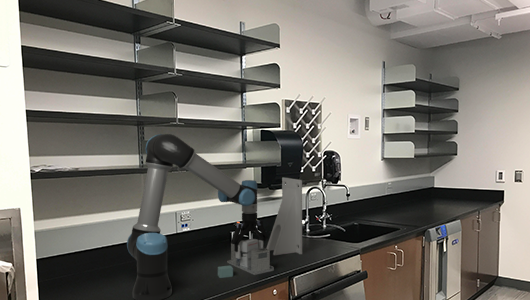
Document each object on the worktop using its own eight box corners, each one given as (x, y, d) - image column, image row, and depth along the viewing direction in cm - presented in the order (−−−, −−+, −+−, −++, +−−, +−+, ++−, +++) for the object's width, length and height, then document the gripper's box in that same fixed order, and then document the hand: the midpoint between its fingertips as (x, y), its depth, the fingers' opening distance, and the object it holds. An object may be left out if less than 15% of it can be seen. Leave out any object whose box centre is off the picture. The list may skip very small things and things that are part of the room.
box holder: (254, 275, 190) (254, 253, 190) (227, 262, 209) (227, 242, 209) (273, 270, 196) (273, 249, 196) (245, 259, 216) (245, 239, 215)
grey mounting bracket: (261, 248, 236) (261, 178, 236) (283, 245, 243) (283, 177, 242) (278, 257, 219) (278, 181, 218) (302, 254, 225) (302, 180, 224)
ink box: (251, 261, 207) (251, 238, 207) (259, 263, 204) (258, 239, 204) (239, 265, 201) (239, 241, 201) (247, 267, 198) (247, 242, 197)
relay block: (220, 278, 186) (219, 269, 186) (217, 275, 190) (217, 266, 190) (232, 276, 188) (232, 267, 188) (230, 274, 192) (230, 265, 192)
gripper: (231, 216, 192) (231, 262, 192) (274, 210, 206) (274, 253, 207) (223, 213, 198) (223, 258, 198) (265, 208, 212) (265, 250, 213)
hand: (249, 255), depth 203 cm, fingers open, 13 cm apart
